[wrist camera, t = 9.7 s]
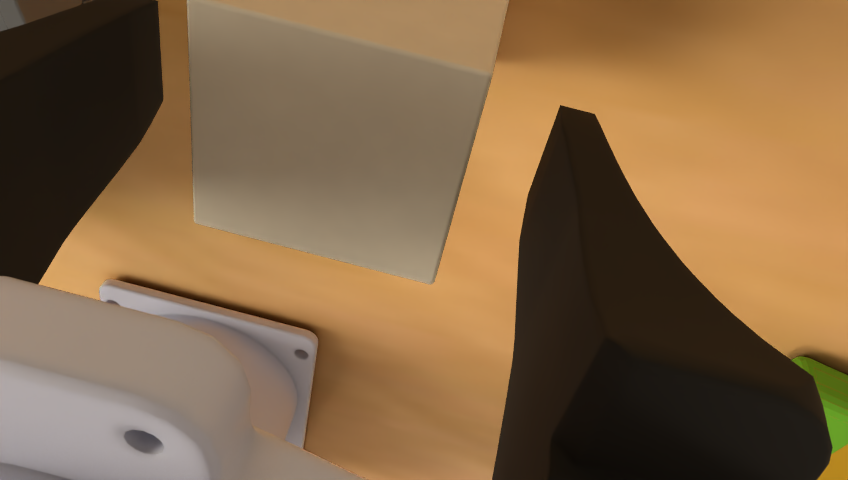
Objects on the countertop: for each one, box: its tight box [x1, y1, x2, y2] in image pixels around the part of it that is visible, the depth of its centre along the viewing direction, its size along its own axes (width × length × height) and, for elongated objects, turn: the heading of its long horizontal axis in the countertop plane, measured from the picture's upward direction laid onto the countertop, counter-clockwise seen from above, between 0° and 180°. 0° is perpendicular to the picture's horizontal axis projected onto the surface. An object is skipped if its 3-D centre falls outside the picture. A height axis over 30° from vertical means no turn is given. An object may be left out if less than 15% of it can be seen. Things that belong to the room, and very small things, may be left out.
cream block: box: [187, 0, 509, 284], centre depth 15 cm, size 4×4×8 cm
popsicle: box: [792, 356, 848, 480], centre depth 26 cm, size 6×15×2 cm, turn 67°
